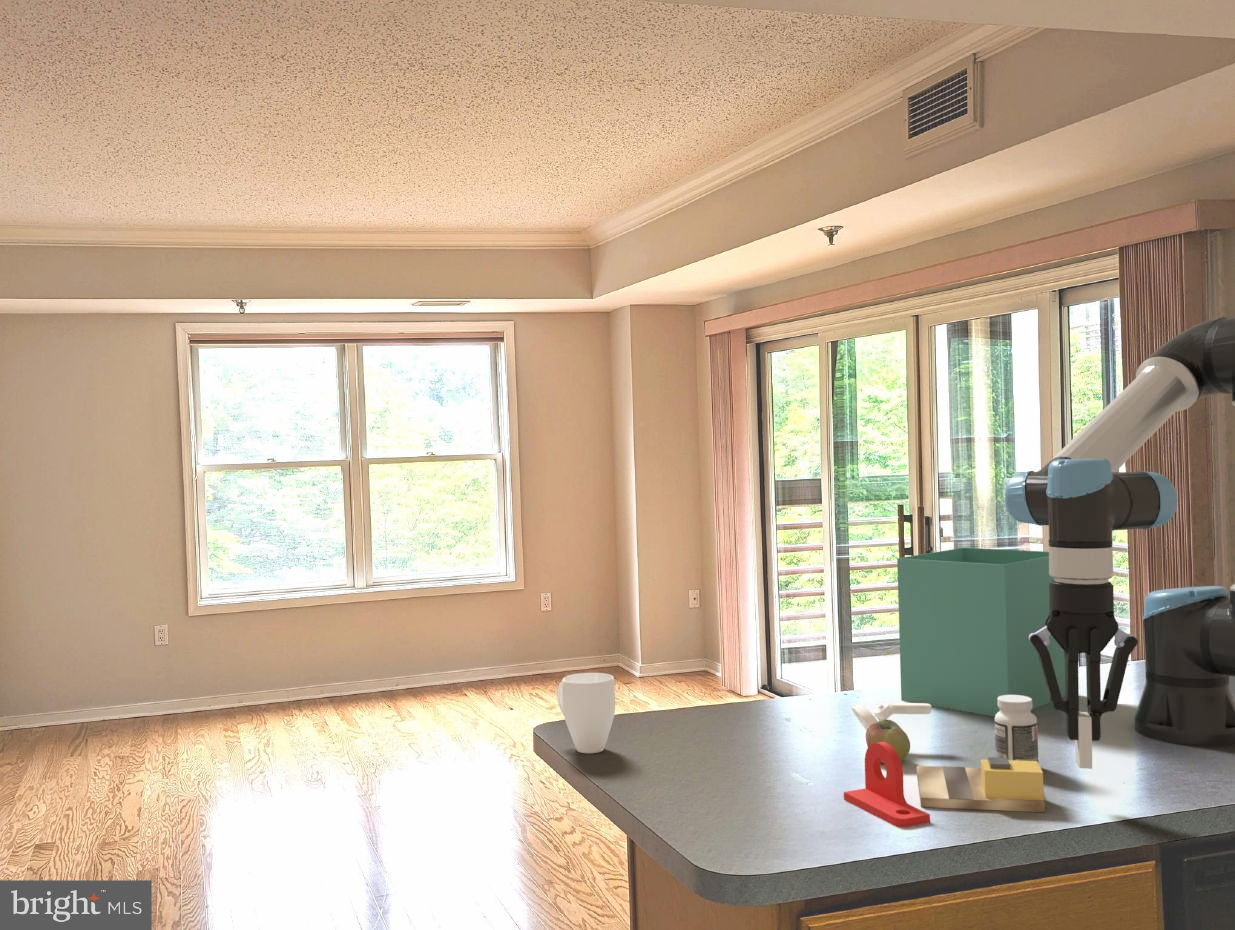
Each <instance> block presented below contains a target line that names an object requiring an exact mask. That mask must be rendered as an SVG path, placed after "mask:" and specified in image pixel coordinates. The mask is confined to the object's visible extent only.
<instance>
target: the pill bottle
mask: <svg viewBox="0 0 1235 930" xmlns="http://www.w3.org/2000/svg"><path fill="white" fill-rule="evenodd" d="M997 700H998V701H997V705H998V707H999V708H1000V711H999V712H998V713H997V714H996V715H995V717H994V738H995V739H994V741H995V743H994V744H995V757H998V758H1008V760H1016V761H1037V762H1038V764H1039V744H1038V743H1039V742H1038V741H1039V740H1038V739H1039V738H1038V719H1037V717H1036V715H1035V714H1034V713H1032V710H1031V709H1032V707H1033V705H1032V699H1031V698H1030V697H1027V696H1021V695H1002V696H999V697H998V698H997ZM1039 765H1040V764H1039Z"/></svg>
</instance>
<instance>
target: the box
mask: <svg viewBox="0 0 1235 930" xmlns="http://www.w3.org/2000/svg"><path fill="white" fill-rule="evenodd" d="M896 562H897V564H896V565H897V567H896V568H897V594H898V596H897V598H898V603H897V604H898V626H899V627H898V630H899V631H898V633H899V635H898V636H899V663H900V665H899V666H900V696H901V697H900V699H901V701H902V702H903V701H904V702H907V703H928V704H930V705H931V707H937V706H938V708H942V707H944V708H943V709H948V708H952V709H951V710H954V709H958V710H957V711H960V710H962V711H961V712H965V711H967V712H966V713H971V712H975V713H974V714H977V713H978V714H977V715H983V714H985V715H984V716H988V715H993V716H992V717H994V716H995V715H996V714H997V713H998V712H999V711H1000V708H999V707H998V705H997V701H998V700H997V698H998V697H999V696H1002V695H1021V696H1027V697H1030V698H1031V699H1032V705H1033V707H1032V709H1033V710H1035V709H1038V708H1040V707H1043V706H1045V705H1048V704H1051V701H1050V698H1049V694H1048V690H1047V687H1046V683H1045V679H1044V676H1043V672H1042V668H1041V665H1040V661H1039V657H1038V654H1037V650H1036V649H1035V647H1034V646H1033V645H1032V643H1031V642H1030V640H1029V639H1028V634H1029V633H1031V632H1034V633H1035V632H1037V631H1038V630H1040V629H1042V628H1043V627H1045V623H1046V620H1047V618H1048V616H1049V612H1050V608H1049V583H1051V581H1053V580H1054V578H1053V577H1051V576H1050V575H1049V551H1045V550H1043V551H1041V550H1021V549H1003V548H1002V549H998V548H979V547H958V548H954V549H946V550H940V551H936V552H929V553H923V554H915V555H911V556H904V557H898V558H896ZM1049 641H1050V644H1049V645H1048V646H1047V649H1048V651H1049V654H1050V657H1051V661H1052V664H1053V668H1054V672H1055V675H1056V679H1057V683H1058V686H1059V690H1060V693H1061V697H1062V699H1064V698H1065V658H1064V650H1063V649H1062V648H1061V647H1060V645H1059V644H1058V643H1057V642H1056V640H1055V639H1054V638H1053V636H1052V635H1051V634H1050V635H1049ZM1032 709H1031V711H1033V710H1032Z"/></svg>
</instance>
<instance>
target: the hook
mask: <svg viewBox="0 0 1235 930" xmlns="http://www.w3.org/2000/svg"><path fill="white" fill-rule="evenodd" d="M850 707H851V711H852V713H853V714H854V715H855V717H856V718H857V719H858V721H859V723H860V724H861V725H862V727H864V729H865V731H867V729H868V727H869V726H870V725H871V724H874V723H876V722H878V721H882V720H888V719H889V718H890V717H891V716H893V715H930V714H931V712H932V706H931V705H930V704H928V703H914V702H884V703H880V704H879V705H878V706H877V707H875V708H874V710H873V713H872V712H871V711H870V709H868V708H867V707H866V706H865V705H864V704H863V703H860V704H855V705H852V706H850ZM873 714H874V715H873Z"/></svg>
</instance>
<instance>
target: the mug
mask: <svg viewBox="0 0 1235 930" xmlns="http://www.w3.org/2000/svg"><path fill="white" fill-rule="evenodd" d="M615 685H616V684H615V678H614V675H612V674H609V673H605V672H579V673H574V674H568V675H565V676H564V677H563V678H562V680H561V682H560V683H559V684H558V687H557V693H556V694H557V702H558V705H559V706H558V707H559V709H560V711H561V713H562V715H563V716H564V721H565V723H566V726H567V730H568V732H569V733H570V735H571V739H572V741H573V744H574V746H575V750H576V751H577V752H578V753H582V754H595V753H596V754H597V753H601V752H603V751H604V749H605V748H606V747H605V746H606V745H607V741H608V737H609V735H610V732H611V728H612V725H613V722H614V719H615V714H616V713H615V712H616V691H615V690H616V688H615V687H616V686H615Z"/></svg>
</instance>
